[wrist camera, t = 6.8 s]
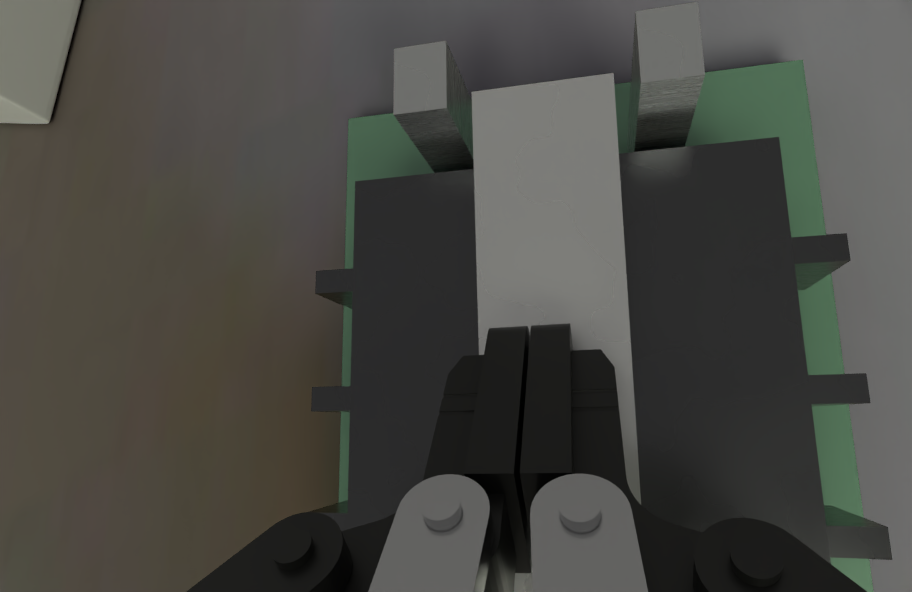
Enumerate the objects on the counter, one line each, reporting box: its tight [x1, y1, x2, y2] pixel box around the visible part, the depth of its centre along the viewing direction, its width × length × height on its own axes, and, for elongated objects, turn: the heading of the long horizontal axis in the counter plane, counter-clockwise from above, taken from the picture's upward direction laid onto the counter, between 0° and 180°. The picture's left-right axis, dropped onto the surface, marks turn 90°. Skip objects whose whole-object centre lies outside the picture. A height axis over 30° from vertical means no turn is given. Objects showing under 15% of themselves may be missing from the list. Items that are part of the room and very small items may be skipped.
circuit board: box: [339, 60, 873, 592], centre depth 18 cm, size 22×14×1 cm, turn 1°
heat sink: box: [310, 2, 892, 564], centre depth 14 cm, size 17×12×7 cm
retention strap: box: [472, 73, 641, 592], centre depth 12 cm, size 16×3×1 cm, turn 1°
